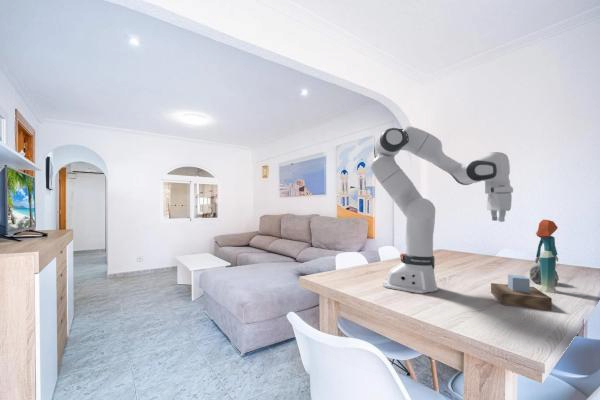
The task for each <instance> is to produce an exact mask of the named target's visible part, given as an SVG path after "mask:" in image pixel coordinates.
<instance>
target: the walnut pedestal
mask: <svg viewBox="0 0 600 400" xmlns="http://www.w3.org/2000/svg"><path fill="white" fill-rule="evenodd" d="M490 293H491V294H492V296H494V297H495V299H497V301H498V302H499V303H500V304H501V305H505V306H514V307H522V308H531V309H538V310H540V309H541V310H548V311H553V310H552V309H553V300H552V299H553V298H552V297H550V296H548V294H545V292H543V291H540V290H538V288H537V287H535V286H530V293H527V292H517V291H512V290H511V289H510V288H508V283H507V284H506V283H504V284H503V283H494V282H491V283H490Z"/></svg>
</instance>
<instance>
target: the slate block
mask: <svg viewBox="0 0 600 400" xmlns="http://www.w3.org/2000/svg"><path fill="white" fill-rule="evenodd" d="M530 280H531V279H530V277H527V276H526V275H518V274H507V285H508V288H510V289H511V290H512V291H517V292H527V293H530V287H531V286H530V283H531V282H530Z"/></svg>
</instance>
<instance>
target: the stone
mask: <svg viewBox="0 0 600 400" xmlns="http://www.w3.org/2000/svg"><path fill="white" fill-rule="evenodd" d="M529 279H530V280H531V281H532V282H533V283H534V284H537V285H538V284H539V285H542V282H541V271H540V262H538V264H537V263H536V264H535V265H534V266H533V267H531V268H530V270H529ZM559 280H560V278H559V275H558V272H557V270H556V269H555V285H556V284H558V281H559Z"/></svg>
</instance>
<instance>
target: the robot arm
mask: <svg viewBox="0 0 600 400" xmlns="http://www.w3.org/2000/svg"><path fill="white" fill-rule="evenodd" d="M400 151H407V152H409V153H411V154H413V155H414V156H416V157H418V158H420V159H422V160H425V161H427V162H429V163H431V164H433V165H434V166H436V167H438V168H440V170H443V171H445V172H446V173H448V174H449V175H450V176H452V178H453V179H454V180H455V181H456V182H457V183H458V184H460V185H462V186H469V185H472V184H475V183H476V184H477V183H480V182H483V181H484V193H485V195H486V209H487V211H490V216H491V221H493V222H495V221H496V222H497V221H498V222H499V223H503V222H505V217H506V215H507V212H508V211H509V212H510V211H511V208H512V199H513V197H512V193H514V188H513V186H511V180H510V172H511V171H510V170H511V166H510V159H509V157H508V155H507V154H506V153H503V152H500V151H499V152H498V151H496V152H488V153H487V154H486V155H484V156H482V157H479V158H477V159H475V160H471V161H469V162H466V163H461V162H458V161H456V160H455V159H453V158H451V157H450V156H448V155H447V154H445V153H444V151H443V143H442V141H441V139H439V138H438V137H436V136H435V135H433V134H431V133H429V132H428V131H425V130H423V129H420V128H418V127H414V126H410V125H409V126H405V127H404V128H398V127H391V128H387V129H386V130H384V131H383V132H382V133H381V135H380V136H379V138H378V139H377V140H376V143H375V145H374V147H373V154H374V158H373V159H372V161H371V163H370V169H371V171H372V173H373V175H374V176H375V179H376V180H377V181H378V183H379V184H381V186H382V187H383V189H385V191H386V192H387V194H388V195H389V196H390V197H391V199H392V200H393V201H394V204H396V205H397V207H398V208H399V210H400V211H401V212H402V213H403V215H404V216H405V218H406V226H405V227H406V229H405V253H404V252H401V253H400V254H399V256H400V262H399V263H397V264H396V265H394V266H393V267H392V268H390V270H389V271H388V274H387V278H385V279H383V281H382V286H383V287H384V288H388V289H391V290H392V289H393V290H398V291H404V292H409V293H410V292H411V293H416V294H425V293H431V292H433V293H434V292H436V291H437V290H438V289H439V288H438V285H437V281H436V277H435V266H436V259H435V255H434V232H435V224H436V222H435V221H436V207H435V205H434V203H433V202H431V200H429V199H427V198H424V197H423V196H422V195H421V193H420V191H418V188H417V187H416V186H415V184H414V183H413V181H412V179H410V178H409V176H408V175H407V174H406V173H405V172H404V170H403V169H402V168H401V166H399V165H398V164H397V162H396V160H395V159H396V158H395V156H397V155H398V154H399V153H400ZM487 194H488V195H487ZM497 213H498V214H497Z"/></svg>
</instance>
